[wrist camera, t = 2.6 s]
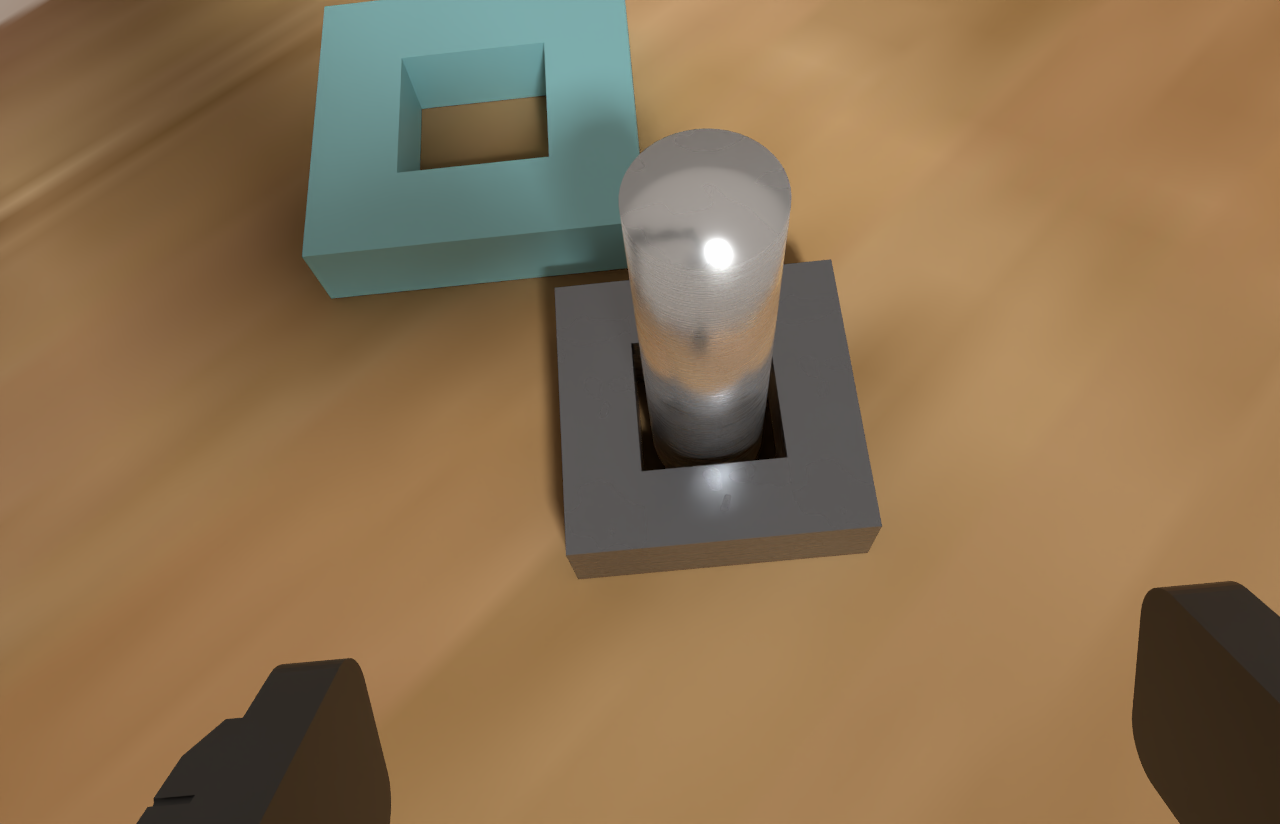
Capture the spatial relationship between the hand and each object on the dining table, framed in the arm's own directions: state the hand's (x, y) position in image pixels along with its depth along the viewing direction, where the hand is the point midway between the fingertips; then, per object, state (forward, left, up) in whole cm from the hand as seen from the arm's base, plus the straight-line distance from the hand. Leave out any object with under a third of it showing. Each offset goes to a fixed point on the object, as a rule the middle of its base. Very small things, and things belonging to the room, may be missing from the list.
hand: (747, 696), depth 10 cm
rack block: (-7, +26, -22) cm, 35 cm away
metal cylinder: (+1, +12, -22) cm, 25 cm away
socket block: (+1, +12, -22) cm, 25 cm away
